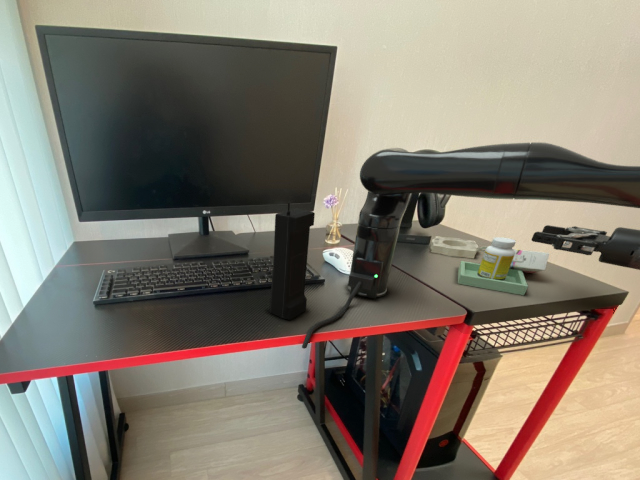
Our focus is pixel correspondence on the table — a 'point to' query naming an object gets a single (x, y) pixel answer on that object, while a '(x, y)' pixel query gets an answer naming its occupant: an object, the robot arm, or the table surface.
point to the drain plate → (454, 247)
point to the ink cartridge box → (527, 260)
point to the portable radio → (290, 262)
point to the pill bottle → (497, 259)
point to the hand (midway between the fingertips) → (538, 232)
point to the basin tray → (511, 283)
